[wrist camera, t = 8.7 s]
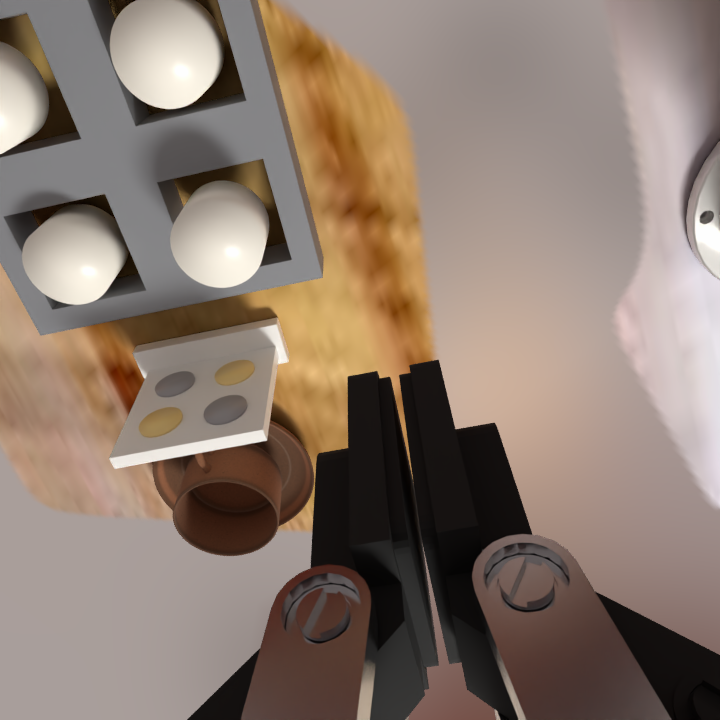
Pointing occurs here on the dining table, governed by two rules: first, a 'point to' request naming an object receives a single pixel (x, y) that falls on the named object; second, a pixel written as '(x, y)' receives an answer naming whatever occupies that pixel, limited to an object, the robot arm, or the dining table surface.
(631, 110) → the dining table surface
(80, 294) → the button
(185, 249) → the button
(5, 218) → the button board
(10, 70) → the button
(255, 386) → the card
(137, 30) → the button
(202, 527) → the cup and saucer
